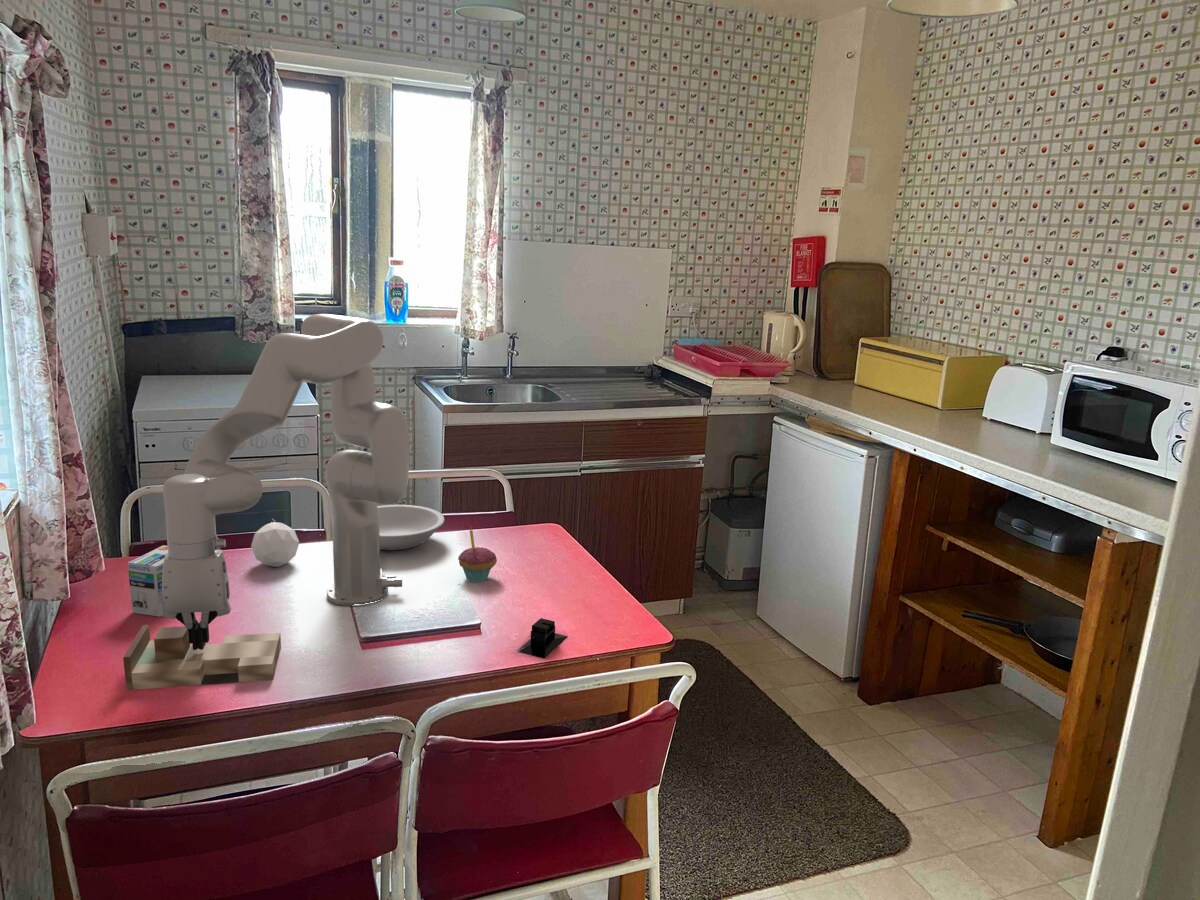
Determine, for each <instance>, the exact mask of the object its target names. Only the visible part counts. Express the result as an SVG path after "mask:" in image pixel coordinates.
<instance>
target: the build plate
mask: <svg viewBox="0 0 1200 900" xmlns="http://www.w3.org/2000/svg"><path fill="white" fill-rule="evenodd" d="M555 622H556V621H555V620H551V619H547V618H542V617H541V618H539V619H538V620H537V621H535V623H533V624H532V625H531V630H530V639H529V640H527V641H526V642H525V643H524V644H523V645H522V646H520V648H518V649H517V650H516V653H520V654H522V655H523V654H524V655H528V656H531V657H536V658H540V659H547V657H548V656H549V655H550V654H552V653H553V651H555V650H556V649H557V648H558V647H559V646H560V645H561V644H562V643H564V641H565V640H567V638H568V637H569V636H568V635H564V634H559V633H556V623H555Z"/></svg>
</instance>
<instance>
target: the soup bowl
mask: <svg viewBox="0 0 1200 900" xmlns="http://www.w3.org/2000/svg"><path fill="white" fill-rule="evenodd" d="M377 507H378V511H379V518H380V550H387V551H388V550H390V551H392V550H393V551H395V550H396V551H397V550H404V549H405V550H406V549H409V548H411V549H412V548H414V547H416V546H420V545H421V544H423V543H425V542H426V541H427V540H429V538H431V537H432V536H433V535H434V533H435V532H436V530H437V529H440V527H442V526H443V525H444V523H445V517H444V515H443V513H441V512H439V511H438V510H436V509H432V508H430V507H426V506H421V505H411V504H383V505H377Z"/></svg>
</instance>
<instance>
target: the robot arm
mask: <svg viewBox="0 0 1200 900" xmlns="http://www.w3.org/2000/svg"><path fill="white" fill-rule="evenodd" d="M383 346H384V336H383V331H382V330H381V328H380V327H379V325H378V324H377V323H375V322H374V321H372V320H370V319H366V318H364V317H363V318H362V317H355V316H354V317H352V316H345V315H339V314H331V313H317V314H316V313H315V314H312V315H309V316H308V317H306V318H305V319H304V320H303V321H302V323H301V327H300V334H299V333H291V332H282V333H277V334H275V335H272V336H271V337H270V338H269V339H268V340H267V341H266V343H265V345H264V347H263V349H262V351H261V353H260V355H259V358H258V360H257V362H256V364H255V366H254V369H253V370H252V372H251V374H250V377H249V379H248V381H247V384H246V386H245V388H244V390H243V392H242V394H241V396H240V398H239V400H238V401H237V404H235V406H233V408H231V409H230V410H228V411H227V412H226V413H224V414H223V415H222V416H221V417H220V418H218V419H217V420H216V421H215V422H214V423H213V424H212V425H211V426H209V427H208V429H206V430H205V432H204V433H203V434H202V435H201V437H200V438H199V440H198V441H197V443H196V445H195V447H194V449H193V451H192V453H191V455H190V457H189V459H188V461H187V464H186V467H185V469H184V473H183V474H177V475H174V476H171V477H169V478H167V479H166V480H165V482H164V483H163V487H162V489H163V490H162V491H163V493H162V494H163V504H164V517H165V518H164V519H165V530H166V542H167V543H166V544H167V545H166V546H168V553H167V554H166V555H165V558H164V564H163V573H162V604H163V609H164V610H163V615H162V617H163V618H166V619H170V620H171V619H173V620H175V619H176V620H177V621H179V622H180V623H181V624H182V625H183V626H185V627H186V628H187V629H188V635H189V644H190V645H193V650H197V649H200V650H203V649H204V646H205V645H206V644H207V643H209V642H210V628H209V627H210V624H211V623H213V621H214V620H215V619H216V618H217V617H222V616H226V615H229V614H230V613H231V610H232V607H231V604H230V601H229V600H230V596H231V595H230V583H229V575H228V568H227V563H226V560H225V556H224V552H223V550H222V549H221V548H226V547H227V543H226V542H227V541H226V539H225V538H224V539H222V538H219V537H218V533H217V529H216V527H217V526H216V525H217V524H216V516H217V515H220V514H228V513H238V512H239V513H240V512H244V511H246V510H249V509H250V508H252V507H253V506H255V505H256V504H258V502H259V501H260V499H261V497H262V495H263V491H264V489H263V482H262V481H261V479H260V478H259V476H258V475H257V474H256V473H254V472H253V471H251V470H249V469H246V468H244V467H243V468H242V467H238V466H234V465H230V464H228V462H229V461H230V460H231V459H230V458H231V457H232V456H233V454H234V453H235V451H236V450H237V449H238V448H239V447H240V446H241V445H242V444H244V443H245V442H246V441H248V440H249V439H251V438H253V437H254V438H255V437H256V436H259V435H260V434H264V433H266V432H270V431H272V430H274V429H277V428H279V427H281V426H283V424H285V422H286V421H287V418H288V415H289V413H290V411H291V409H292V407H293V404H294V402H295V400H296V399H297V396H298V393H299V391H300V389H301V387H302V385H303V383H309V384H316V385H324V384H328V383H330V389H331V390H330V392H331V393H330V396H331V425H332V426H331V427H332V428H331V429H332V433H333V435H334V437H335V438H336V440H338V441H339V442H341V443H343V444H347V445H350V446H354V447H360V448H363V449H368V450H370V452H368V451H364V450H363V451H362V450H357V449H343V450H340V451H337V452H336V453H334V454H333V455H332V456H331V457H330V458H329V460H328V461H327V463H326V467H325V474H324V475H325V482H326V486H327V491H328V495H329V500H330V508H331V522H332V524H331V525H332V552H333V555H332V556H333V557H332V558H333V584H331V586H330V587H328V588H327V590H326V598H327V600H328V601H329V602H331V603H333V604H335V605H339V606H345V607H353V606H352V605H354V604H365V603H370V602H375V601H378V600H380V601H382V600H384V599H385V598H386V597H387V596H388V594H389V588H402V587H403V577H397V574H390V575H386V574H383V569H382V568H381V549H380V518H379V511H378V507H377V506H378V505H377V503H378V504H383V505H394V504H395V503H397V502H398V501H400V500H401V499H402V498H403V497H404V495H405V494H406V491H407V488H408V484H409V475H410V474H409V472H410V471H409V470H410V464H409V463H410V433H409V432H410V431H409V424H408V421H407V418H406V416H405V414H404V412H403V411H402V410H401V409H400V408H399V407H397V406H395V405H393V404H390V403H384V402H378V401H377V397H376V387H375V386H376V384H375V373H374V370H373V367H372V364H371V363H373V362H374V361H375V360H377V358H378V357H379V356H380V354H381V352H382V349H383ZM384 597H385V598H384ZM383 598H384V599H383ZM381 599H382V600H381ZM378 602H379V601H378ZM196 613H200V620H199V621H198V620H197V618H196Z"/></svg>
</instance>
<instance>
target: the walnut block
mask: <svg viewBox="0 0 1200 900" xmlns="http://www.w3.org/2000/svg"><path fill="white" fill-rule="evenodd" d="M153 640H154V646H155V658H156V661H159V660H176V659H184V658H185V656H186V654H187V652H188V650H189V648H190V645H191V644H189V635H188V629H187V628H186V627H185V625H183V626H168V627H166V626H165V627H164V626H163V627H160V628H159V629H158V631H157V633H156V635H155V637H154V638H153Z"/></svg>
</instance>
